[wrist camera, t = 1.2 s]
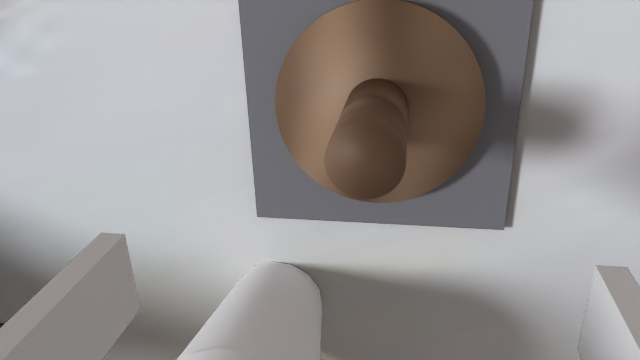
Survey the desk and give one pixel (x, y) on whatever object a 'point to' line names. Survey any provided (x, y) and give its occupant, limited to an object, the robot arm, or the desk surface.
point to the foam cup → (263, 319)
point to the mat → (427, 209)
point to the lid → (380, 100)
